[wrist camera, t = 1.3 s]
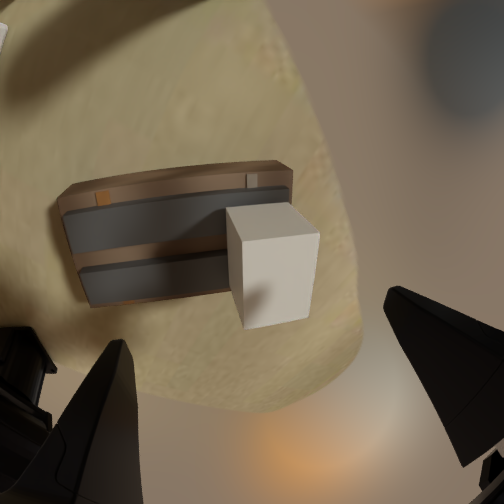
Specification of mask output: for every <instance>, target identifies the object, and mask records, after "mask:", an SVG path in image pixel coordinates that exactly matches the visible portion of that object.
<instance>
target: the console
mask: <svg viewBox="0 0 504 504" xmlns="http://www.w3.org/2000/svg"><path fill="white" fill-rule="evenodd" d="M292 184H293V170H292V169H290V168H289V167H287V166H285V165H284V164H282V163H280V162H279V161H277V160H269V161H247V162H231V163H217V164H205V165H195V166H185V167H176V168H167V169H159V170H151V171H144V172H137V173H131V174H124V175H118V176H112V177H106V178H101V179H95V180H90V181H85V182H80V183H75V184H72V185H71V186H70V187H69V188H67V189H66V190H65V191H64V192H63V193H62V194H61V195H60V196H59V197H58V198H57V202H58V206H59V210H60V215H61V219H62V223H63V226H64V230H65V234H66V237H67V241H68V244H69V248H70V251H71V254H72V257H73V260H74V264H75V267H76V270H77V272H78V275H79V278H80V281H81V284H82V287H83V289H84V292H85V295H86V297H87V300H88V302H89V305H90V307H91V308H97V307H107V306H116V305H125V304H134V303H143V302H152V301H160V300H168V299H176V298H184V297H191V296H199V295H206V294H213V293H220V292H227V291H231V288H230V285H229V269H228V249H227V227H226V207H237V206H247V205H259V204H271V203H283V202H288V203H290V204H291V203H292Z"/></svg>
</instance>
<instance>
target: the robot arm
mask: <svg viewBox="0 0 504 504" xmlns="http://www.w3.org/2000/svg"><path fill="white" fill-rule="evenodd" d="M383 309H384V312H385V314H386V316H387V318H388V320H389V322H390V325H391V327H392V329H393V331H394V333H395V335H396V337H397V339H398V342H399V344H400V345H401V347H402V349H403V351H404V353H405V354H406V356H407V358H408V359H409V361H410V363H411V365H412V366H413V368H414V370H415V372H416V374H417V375H418V377H419V379H420V381H421V383H422V385H423V387H424V388H425V390H426V392H427V394H428V396H429V398H430V400H431V402H432V404H433V405H434V407H435V409H436V411H437V414H438V416H439V418H440V419H441V422H442V423H443V426H444V427H445V430H446V432H447V434H448V436H449V439H450V441H451V443H452V445H453V447H454V450H455V452H456V454H457V456H458V459H459V461H460V463H461V465H462V467H463V468H464V467H465V466H467V465H468V464H470V463H471V462H473V461H474V460H476V459H477V458H478V457H480V456H481V455H483V454H484V453H485V452H487V451H488V450H489V449H491V448H492V447H493V446H495V447H496V448H495V449H494V450H493V451H492V452H491V453H490V454H489V455H488V456H487V457H486V458H485V459H484V460H483V465H482V471H481V477H480V482H479V486H480V488H481V490H482V492H481V493H480V494H479V495H478V496H477V497H476V498H475V499H474V500H473V501H471V502H470V503H469V504H504V332H503V331H501V330H499V329H496V328H494V327H492V326H489V325H487V324H485V323H482V322H480V321H478V320H476V319H474V318H472V317H469V316H467V315H465V314H463V313H460V312H458V311H456V310H454V309H451V308H449V307H446V306H445V305H442V304H440V303H438V302H436V301H433V300H431V299H429V298H427V297H424V296H422V295H419V294H417V293H415V292H413V291H410V290H408V289H406V288H404V287H401V286H395V287H391V288H389V289H388V292H387V295H386V298H385V301H384V305H383ZM45 373H47V374H48V373H49V374H56V373H57V367H56V366H55V364H54V363H53V361H52V360H51V358H50V357H49V355H48V354H47V352H46V350H45V349H44V347H43V345H42V344H41V342H40V341H39V339H38V337H37V335H36V334H35V332H34V330H33V329H32V328H31V327H4V328H0V504H143V496H142V488H141V487H142V486H141V475H140V462H139V442H138V441H139V440H138V403H137V394H136V384H135V373H134V362H133V357H132V355H131V353H130V351H129V349H128V346H127V344H126V342H125V341H124V340H123V339H118V340H112V341H110V342H109V344H108V345H107V347H106V348H105V350H104V351H103V352H102V354H101V355H100V357H99V358H98V360H97V361H96V363H95V364H94V365H93V367H92V368H91V370H90V371H89V373H88V374H87V376H86V377H85V379H84V381H83V382H82V383H81V385H80V387H79V388H78V390H77V391H76V393H75V394H74V396H73V398H72V399H71V400H70V402H69V404H68V405H67V407H66V408H65V410H64V412H63V413H62V415H61V417H60V418H59V420H58V422H57V423H58V424H55V426H54V428H52V414H50V413H49V412H45V411H44V410H42V409H41V408H39V407H38V403H39V398H40V394H41V389H42V385H43V381H44V377H45Z"/></svg>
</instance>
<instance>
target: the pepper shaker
mask: <svg viewBox="0 0 504 504" xmlns="http://www.w3.org/2000/svg"><path fill="white" fill-rule="evenodd" d="M7 31H8V26H7V25H6V24H3V23H0V53H1V50H2V46H3V43H4V40H5V37H6V34H7Z"/></svg>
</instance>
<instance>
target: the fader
mask: <svg viewBox="0 0 504 504" xmlns="http://www.w3.org/2000/svg"><path fill="white" fill-rule="evenodd" d="M226 227H227V249H228V269H229V285H230V288H231V291H232V295H233V298H234V301H235V304H236V307H237V310H238V313H239V316H240V319H241V322H242V325H243V328H244V330H247V329H252V328H258V327H263V326H269V325H274V324H279V323H284V322H289V321H294V320H299V319H303V318H308V316H309V310H310V303H311V297H312V290H313V284H314V277H315V270H316V262H317V255H318V247H319V239H320V232H319V231H318V230H317V229H316V228H315V227H314V226H313V225H312V224H311V223H310V222H309V221H308V220H307V219H305V218H304V217H303V216H302V215H301V214H300V213H299V212H298V211H297V210H296V209H295V208H294V207H293V206H292V205H291V204H290V203H288V202H283V203H271V204H259V205H247V206H237V207H226Z"/></svg>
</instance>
